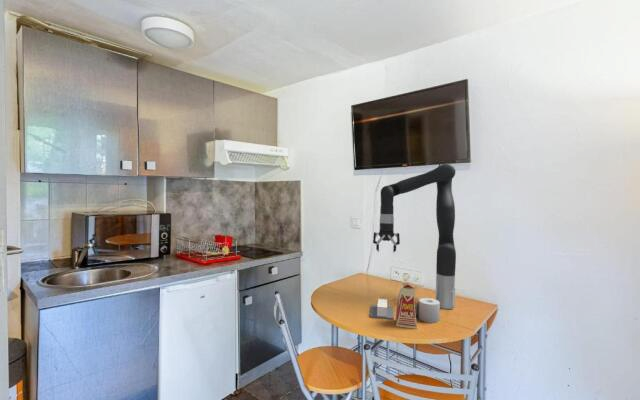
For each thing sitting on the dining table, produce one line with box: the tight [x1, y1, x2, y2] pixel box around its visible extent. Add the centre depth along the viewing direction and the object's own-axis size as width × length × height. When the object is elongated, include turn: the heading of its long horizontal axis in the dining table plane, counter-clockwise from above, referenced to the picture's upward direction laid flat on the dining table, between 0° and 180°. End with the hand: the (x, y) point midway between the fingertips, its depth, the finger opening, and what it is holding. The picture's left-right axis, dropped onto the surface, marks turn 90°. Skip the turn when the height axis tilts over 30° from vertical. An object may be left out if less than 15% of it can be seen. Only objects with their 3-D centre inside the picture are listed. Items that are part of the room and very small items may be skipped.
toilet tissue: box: [415, 297, 441, 324], centre depth 153 cm, size 9×13×9 cm
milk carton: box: [395, 280, 418, 330], centre depth 147 cm, size 9×9×20 cm
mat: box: [369, 304, 395, 321], centre depth 160 cm, size 15×11×1 cm
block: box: [377, 298, 388, 317], centre depth 159 cm, size 4×4×12 cm
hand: (386, 251), depth 177 cm, fingers open, 8 cm apart
